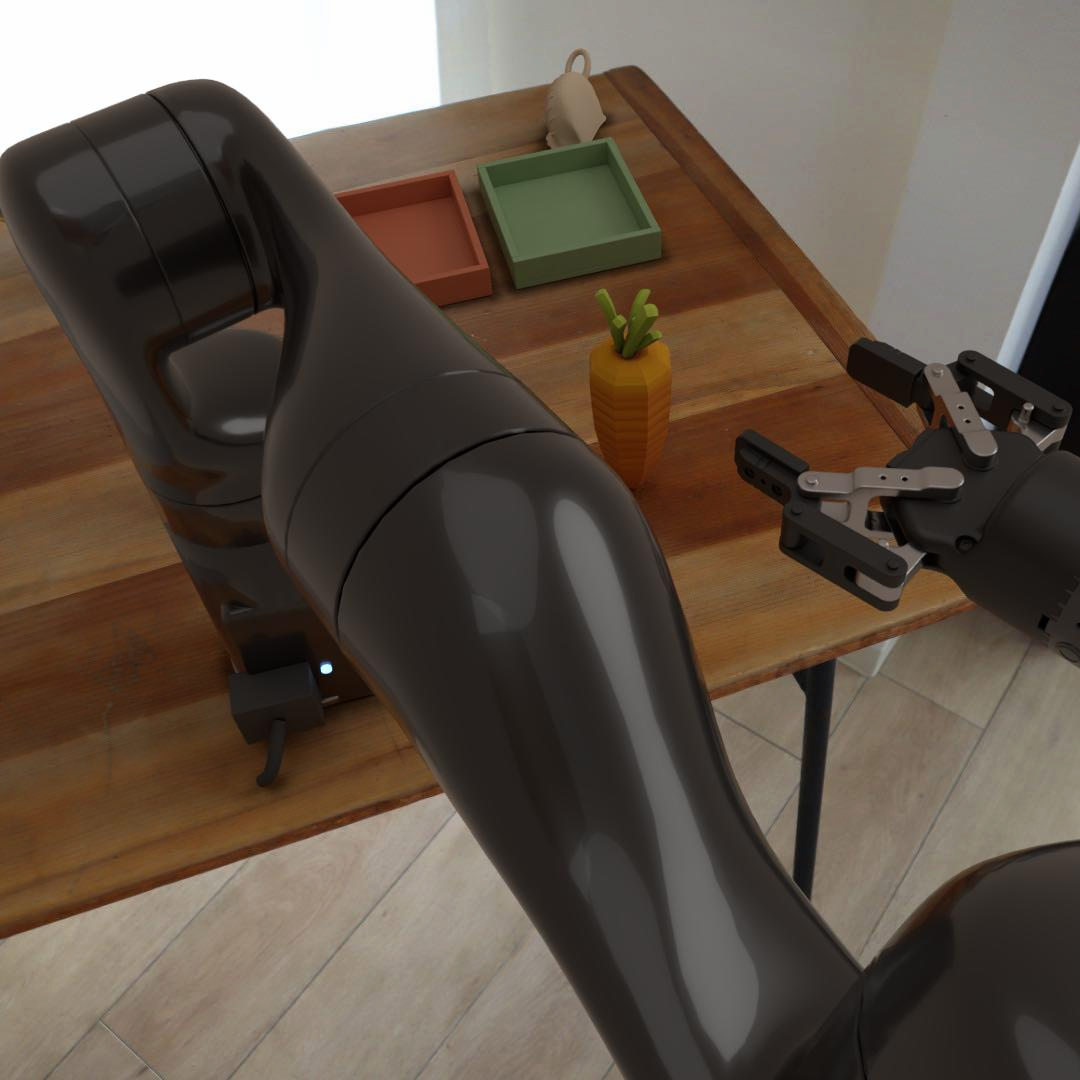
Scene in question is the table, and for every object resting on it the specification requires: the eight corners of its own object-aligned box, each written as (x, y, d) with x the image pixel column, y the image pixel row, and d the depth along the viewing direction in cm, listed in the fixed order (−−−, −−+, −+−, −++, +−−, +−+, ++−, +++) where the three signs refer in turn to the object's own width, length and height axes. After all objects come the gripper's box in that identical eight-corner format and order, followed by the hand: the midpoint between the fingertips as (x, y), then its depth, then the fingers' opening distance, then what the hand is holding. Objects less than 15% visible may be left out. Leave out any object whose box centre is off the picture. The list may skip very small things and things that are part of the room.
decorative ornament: (535, 156, 98) (529, 97, 94) (570, 103, 103) (566, 44, 99) (580, 163, 97) (577, 103, 93) (614, 109, 102) (612, 50, 98)
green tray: (661, 258, 88) (661, 230, 86) (516, 289, 87) (513, 262, 85) (612, 163, 97) (611, 136, 95) (479, 191, 96) (476, 164, 94)
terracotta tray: (492, 294, 87) (489, 267, 85) (357, 324, 86) (350, 297, 84) (458, 195, 95) (454, 169, 94) (334, 221, 94) (327, 195, 93)
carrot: (581, 472, 75) (567, 284, 64) (652, 448, 76) (652, 258, 64) (611, 526, 72) (603, 339, 61) (685, 501, 73) (691, 312, 61)
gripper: (1226, 423, 49) (897, 265, 57) (1036, 629, 43) (700, 421, 51) (1167, 539, 54) (875, 380, 63) (991, 734, 49) (696, 531, 57)
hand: (797, 398), depth 57 cm, fingers open, 8 cm apart
